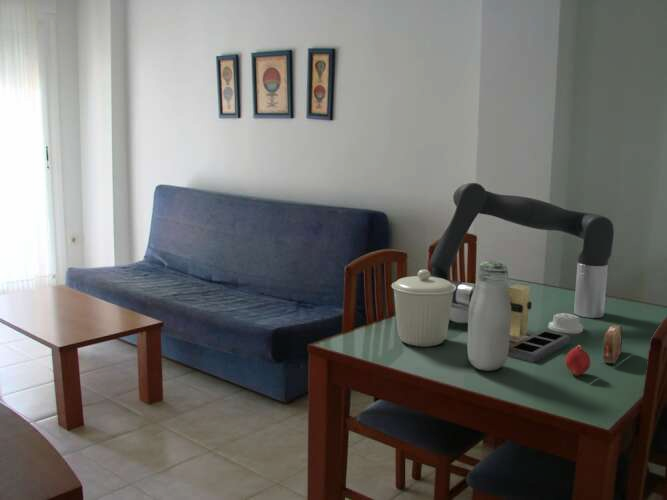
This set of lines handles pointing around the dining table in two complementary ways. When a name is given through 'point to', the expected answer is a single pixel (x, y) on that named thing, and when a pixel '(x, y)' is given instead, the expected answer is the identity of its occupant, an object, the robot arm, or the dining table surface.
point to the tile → (517, 338)
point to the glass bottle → (489, 317)
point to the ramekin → (459, 313)
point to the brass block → (518, 320)
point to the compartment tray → (538, 345)
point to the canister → (423, 308)
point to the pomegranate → (577, 361)
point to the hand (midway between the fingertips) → (526, 307)
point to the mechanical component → (566, 324)
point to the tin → (612, 344)
